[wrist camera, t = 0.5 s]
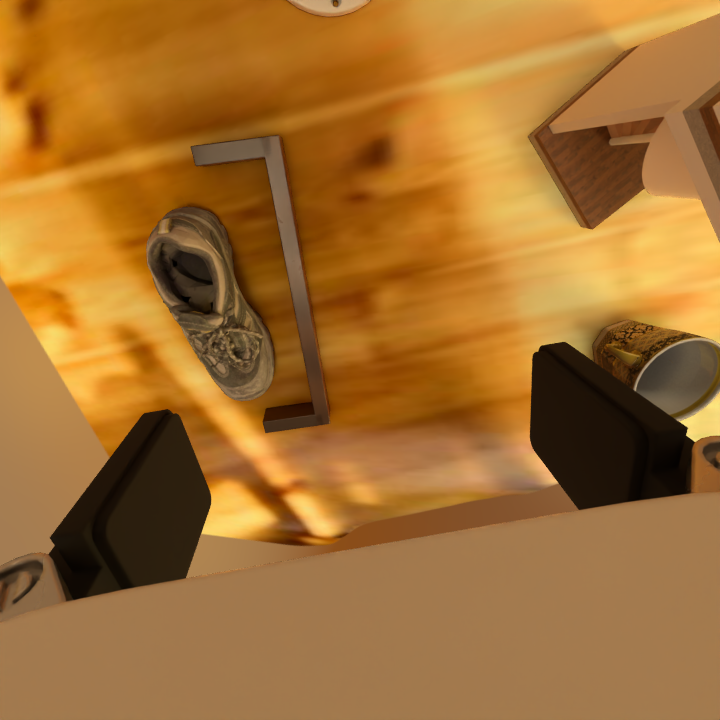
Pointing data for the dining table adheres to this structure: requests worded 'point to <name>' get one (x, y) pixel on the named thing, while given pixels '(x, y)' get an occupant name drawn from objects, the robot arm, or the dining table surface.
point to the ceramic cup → (662, 365)
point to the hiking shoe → (210, 301)
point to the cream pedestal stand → (642, 128)
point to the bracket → (292, 250)
